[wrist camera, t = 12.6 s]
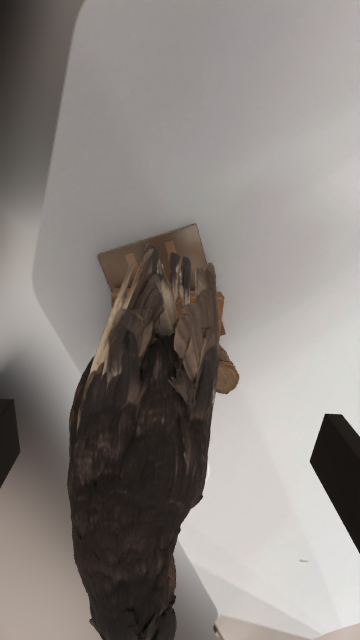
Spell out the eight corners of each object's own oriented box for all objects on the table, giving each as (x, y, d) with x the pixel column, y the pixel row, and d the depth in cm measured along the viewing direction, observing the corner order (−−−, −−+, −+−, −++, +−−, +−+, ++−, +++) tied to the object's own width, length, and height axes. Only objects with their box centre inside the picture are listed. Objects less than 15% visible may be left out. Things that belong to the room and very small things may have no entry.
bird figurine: (228, 227, 30) (463, 337, 7) (213, 359, 35) (315, 683, 12) (113, 220, 29) (-81, 318, 6) (115, 357, 34) (17, 698, 11)
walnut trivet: (98, 253, 31) (96, 255, 30) (195, 223, 31) (196, 224, 30) (139, 355, 36) (138, 360, 34) (224, 330, 35) (225, 334, 34)
